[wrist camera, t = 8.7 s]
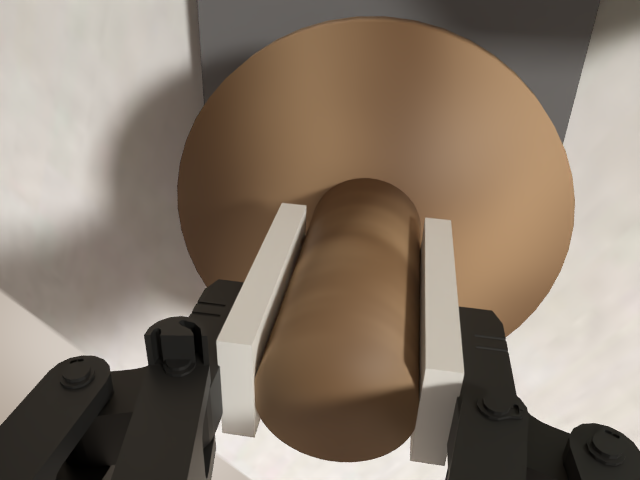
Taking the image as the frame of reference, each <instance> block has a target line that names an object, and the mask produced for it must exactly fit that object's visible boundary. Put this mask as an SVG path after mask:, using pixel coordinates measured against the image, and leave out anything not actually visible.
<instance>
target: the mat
mask: <svg viewBox="0 0 640 480" xmlns="http://www.w3.org/2000/svg"><path fill="white" fill-rule="evenodd" d="M197 2H198V18H199V33H200V48H201V64H202V79H203V95H204V105H205V103H206V102H207V100H208V99H209V97H210V96H211V95H212V94H213V93H214V91H215V90H216V89H217V88H218V87H219V86H220V84H221V83H222V82H223V81H224V80H225V79H226V78H227V77H228V76H229V75H230V74H231V73H233V72H234V71H235V70H236V69H237V68H238V67H239V66H241V65H242V64H243V63H244V62H245V61H246V60H248V59H249V58H250V57H251V56H252V55H253V54H255V53H256V52H258V51H259V50H261V49H263V48H264V47H266V46H267V45H269V44H270V43H272V42H274V41H275V40H277V39H279V38H281V37H283V36H286V35H288V34H290V33H292V32H294V31H297V30H299V29H301V28H304V27H308V26H311V25H315V24H318V23H322V22H325V21H329V20H336V19H343V18H349V17H356V16H387V17H395V18H402V19H409V20H416V21H419V22H423V23H427V24H430V25H434V26H437V27H441V28H444V29H446V30H449V31H451V32H453V33H455V34H458V35H460V36H462V37H465V38H467V39H469V40H471V41H473V42H474V43H476V44H477V45H479V46H481V47H482V48H484V49H485V50H487V51H489V52H490V53H492V54H494V55H495V56H496V57H497V58H498V59H500V60H501V61H502V62H503V63H504V64H506V65H507V66H508V67H509V68H510V69H512V70H513V71H514V72H515V73H516V74H517V75H518V76H519V77H520V78H521V80H522V81H523V82H524V83H525V84H526V85H527V86H528V88H529V89H530V90H531V91H532V92H533V93H534V95H535V96H536V98H537V99H538V101H539V102H540V104H541V105H542V107H543V109H544V110H545V112H546V113H547V115H548V116H549V118H550V120H551V121H552V123H553V125H554V126H555V129H556V131H557V133H558V135H559V138H560V140H561V142H562V144H563V142H564V138H565V134H566V130H567V126H568V122H569V119H570V115H571V111H572V107H573V103H574V99H575V95H576V92H577V88H578V84H579V80H580V76H581V72H582V69H583V65H584V61H585V57H586V53H587V49H588V46H589V42H590V38H591V34H592V30H593V26H594V22H595V19H596V15H597V11H598V7H599V3H600V0H197Z"/></svg>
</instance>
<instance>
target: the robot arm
mask: <svg viewBox="0 0 640 480" xmlns="http://www.w3.org/2000/svg"><path fill="white" fill-rule="evenodd" d="M305 236H306V205H298V204H288V203H282V204H281V206H280V208H279V210H278V212H277V214H276V216H275V218H274V220H273V223H272V225H271V227H270V229H269V231H268V233H267V235H266V237H265V239H264V241H263V244H262V246H261V248H260V250H259V252H258V254H257V256H256V258H255V260H254V263H253V265H252V267H251V269H250V271H249V273H248V275H247V277H246V279H245V281H244V282H238V281H230V280H221V279H218V280H217V281H215V282H214V283H213V284H211V285H210V286H209V287H207V288H206V289H205V290H204V292H203V293H202V295H201V297H200V299H199V300H198V304H196V306H195V307H194V309H193V311H192V314H190V316H189V317H183V316H179V317H169V318H167V319H164V320H161V321H158V322H157V323H155V324H154V325H152V326H151V327H149V329H148V330H147V332H146V333H145V335H144V337H145V344H146V351H147V358H148V366H146V367H143V368H138V369H131V370H122V371H112V372H110V367H109V365H108V364H107V362H106V361H105V360H104V359H101V358H99V357H96V356H78V357H73V358H69V359H67V360H65V361H63V362H61V363H59V364H57V365H56V366H55V367H54V368H52V369H51V370H50V371H49V372H48V373H47V374H46V375H45V376H44V378H43V379H42V380H41V381H40V382H39V383H38V384H37V385H36V386H35V388H34V389H33V390H32V391H31V392H30V393H29V394H28V395H27V396H26V398H25V399H24V400H23V401H22V402H21V403H20V404H19V405H18V407H17V408H16V409H15V410H14V411H13V412H12V413H11V414H10V415H9V417H8V418H7V419H6V420H5V421H4V422H3V423H2V424H1V425H0V480H211V477H212V471H213V464H214V458H215V451H216V442H215V432H216V430H217V427H218V425H219V422H220V419H222V433H228V434H234V435H241V436H248V437H255V434H256V431H257V428H258V424H259V421H260V416H259V414H258V412H257V410H256V407H255V393H254V380H255V376H256V373H257V371H258V368H259V365H260V362H261V359H262V357H263V354H264V351H265V348H266V345H267V342H268V340H269V337H270V334H271V331H272V328H273V326H274V323H275V320H276V317H277V314H278V312H279V309H280V306H281V303H282V300H283V298H284V295H285V292H286V289H287V286H288V284H289V281H290V278H291V275H292V272H293V270H294V267H295V264H296V261H297V258H298V255H299V253H300V250H301V247H302V244H303V241H304V239H305ZM505 339H506V338H505V332H504V327H503V323H502V322H501V321H500V320H499V318H498V317H497V316H496V315H495V313H494V312H493V311H492V310H484V309H476V308H468V307H459V306H458V295H457V283H456V272H455V261H454V249H453V238H452V226H451V220H444V219H434V218H425V221H424V228H423V235H422V242H421V249H420V360H419V407H418V413H417V419H416V425H415V429H414V431H413V433H412V434H411V445H410V461H415V462H422V463H428V464H435V465H442V466H445V461H446V457H447V456H448V470H447V474H446V479H445V480H640V451H639V449H638V448H637V447H636V445H635V444H634V442H632V441H631V440H630V439H629V438H627V437H626V436H625V435H624V434H623V433H621V432H619V431H617V430H615V429H613V428H611V427H609V426H604V425H600V424H596V423H590V424H581V425H579V426H577V427H575V428H574V429H573V430H572V432H571V434H570V433H567V432H564V431H562V430H559V429H557V428H554V427H551V426H549V425H547V424H545V423H543V422H541V421H539V420H537V419H536V418H534V417H533V416H531V415H530V414H529V413H528V411H527V407H526V406H525V405H524V403H523V402H522V401H521V399H520V398H519V397H517V395H516V390H515V385H514V380H513V374H512V369H511V364H510V359H509V353H508V348H507V343H506V341H505Z"/></svg>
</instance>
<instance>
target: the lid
mask: <svg viewBox="0 0 640 480" xmlns="http://www.w3.org/2000/svg"><path fill="white" fill-rule="evenodd" d="M177 192H178V212H179V218H180V224H181V230H182V233H183V236H184V240H185V243H186V246H187V250H188V252H189V254H190V257H191V259H192V261H193V263H194V265H195V268H196V270H197V272H198V273H199V275H200V277H201V278H202V280H203V281H204V283H205V285H206V286H207V287H209V286H210V285H211V284H213V283H214V282H215V281H217V280H218V279H221V280H230V281H238V282H244V281H245V279H246V277H247V275H248V273H249V271H250V269H251V267H252V265H253V263H254V260H255V258H256V256H257V254H258V252H259V250H260V248H261V246H262V244H263V241H264V239H265V237H266V235H267V233H268V231H269V229H270V227H271V225H272V223H273V220H274V218H275V216H276V214H277V212H278V210H279V208H280V206H281V204H282V203H288V204H298V205H306V236H305V239H304V241H303V244H302V247H301V250H300V253H299V255H298V258H297V261H296V264H295V267H294V270H293V272H292V275H291V278H290V281H289V284H288V286H287V289H286V292H285V295H284V298H283V300H282V303H281V306H280V309H279V312H278V314H277V317H276V320H275V323H274V326H273V328H272V331H271V334H270V337H269V340H268V342H267V345H266V348H265V351H264V354H263V357H262V359H261V362H260V365H259V368H258V371H257V373H256V376H255V380H254V393H255V407H256V410H257V412H258V414H259V416H260V418H261V420H262V421H263V423H264V424H265V425H266V427H267V428H268V429H269V430H270V431H271V432H272V433H273V434H274V435H275V436H276V437H277V438H278V439H280V440H281V441H282V442H284V443H285V444H287V445H288V446H290V447H292V448H293V449H295V450H297V451H299V452H301V453H304V454H307V455H309V456H312V457H316V458H319V459H323V460H328V461H336V462H360V461H366V460H371V459H375V458H378V457H381V456H384V455H386V454H388V453H390V452H392V451H394V450H395V449H397V448H398V447H400V446H401V445H402V444H403V443H404V442H405V441H406V440H407V439H408V438H409V437H410V435H411V434H412V433H413V431H414V429H415V425H416V419H417V413H418V407H419V360H420V249H421V242H422V235H423V228H424V221H425V218H434V219H444V220H451V226H452V238H453V249H454V261H455V272H456V283H457V295H458V306H459V307H468V308H476V309H484V310H492V311H493V312H494V313H495V315H496V316H497V317H498V318H499V320H500V321H501V322H502V323H503V327H504V332H505V337H507V336H508V335H509V334H510V333H512V332H513V331H514V330H516V329H517V328H518V327H519V326H520V325H521V324H522V323H523V322H524V321H525V320H526V319H527V318H528V317H529V316H530V315H531V314H532V313H533V312H534V311H535V310H536V309H537V307H538V306H539V305H540V303H541V302H542V301H543V299H544V298H545V297H546V295H547V294H548V293H549V291H550V289H551V287H552V286H553V284H554V282H555V280H556V278H557V277H558V275H559V273H560V271H561V268H562V266H563V263H564V260H565V258H566V255H567V252H568V250H569V245H570V240H571V236H572V231H573V226H574V208H575V198H574V188H573V179H572V174H571V170H570V166H569V162H568V159H567V155H566V151H565V149H564V147H563V144H562V142H561V140H560V138H559V135H558V133H557V131H556V129H555V126H554V125H553V123H552V121H551V120H550V118H549V116H548V115H547V113H546V112H545V110H544V109H543V107H542V105H541V104H540V102H539V101H538V99H537V98H536V96H535V95H534V93H533V92H532V91H531V90H530V89H529V88H528V86H527V85H526V84H525V83H524V82H523V81H522V80H521V78H520V77H519V76H518V75H517V74H516V73H515V72H514V71H513V70H512V69H510V68H509V67H508V66H507V65H506V64H504V63H503V62H502V61H501V60H500V59H498V58H497V57H496V56H495V55H494V54H492V53H490V52H489V51H487V50H485V49H484V48H482V47H481V46H479V45H477V44H476V43H474V42H473V41H471V40H469V39H467V38H465V37H462V36H460V35H458V34H455V33H453V32H451V31H449V30H446V29H444V28H441V27H437V26H434V25H430V24H427V23H423V22H419V21H416V20H409V19H402V18H395V17H387V16H356V17H349V18H343V19H336V20H329V21H325V22H322V23H318V24H315V25H311V26H308V27H304V28H301V29H299V30H297V31H294V32H292V33H290V34H288V35H286V36H283V37H281V38H279V39H277V40H275V41H274V42H272V43H270V44H269V45H267V46H266V47H264V48H263V49H261V50H259V51H258V52H256V53H255V54H253V55H252V56H251V57H250V58H249V59H248V60H246V61H245V62H244V63H243V64H242V65H241V66H239V67H238V68H237V69H236V70H235V71H234V72H233V73H231V74H230V75H229V76H228V77H227V78H226V79H225V80H224V81H223V82H222V83H221V84H220V86H219V87H218V88H217V89H216V90H215V91H214V93H213V94H212V95H211V96H210V97H209V99H208V100H207V102H206V103H205V105H204V107H203V108H202V110H201V111H200V113H199V114H198V116H197V118H196V119H195V122H194V124H193V126H192V128H191V131H190V133H189V135H188V138H187V140H186V143H185V147H184V150H183V154H182V158H181V162H180V168H179V176H178V185H177Z"/></svg>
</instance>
